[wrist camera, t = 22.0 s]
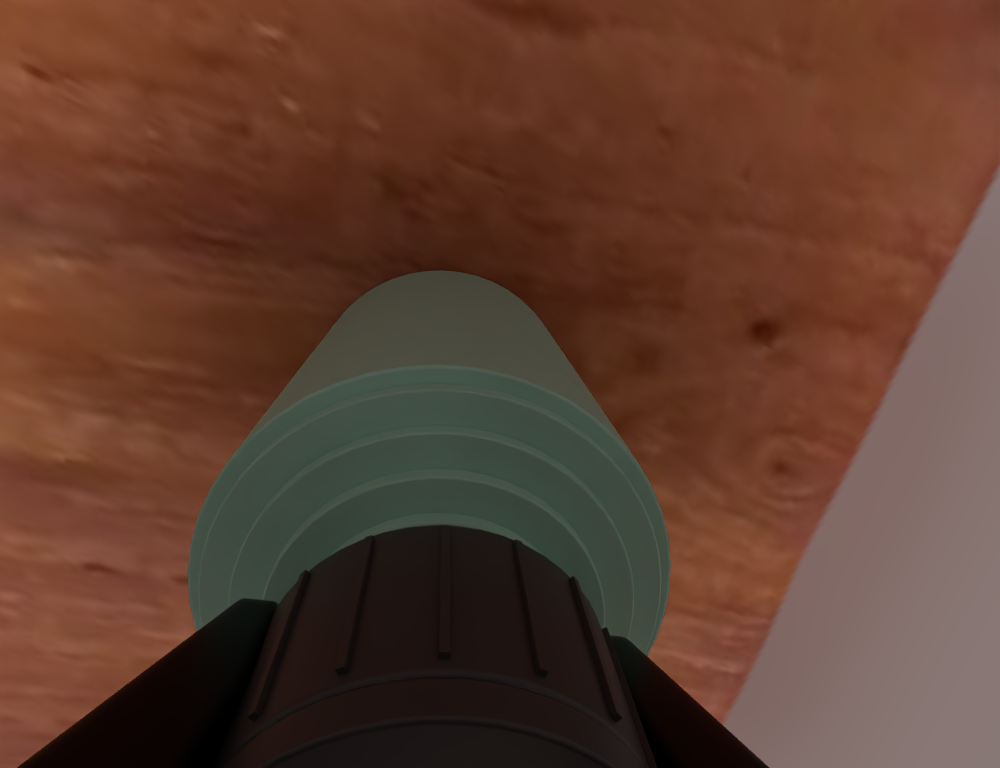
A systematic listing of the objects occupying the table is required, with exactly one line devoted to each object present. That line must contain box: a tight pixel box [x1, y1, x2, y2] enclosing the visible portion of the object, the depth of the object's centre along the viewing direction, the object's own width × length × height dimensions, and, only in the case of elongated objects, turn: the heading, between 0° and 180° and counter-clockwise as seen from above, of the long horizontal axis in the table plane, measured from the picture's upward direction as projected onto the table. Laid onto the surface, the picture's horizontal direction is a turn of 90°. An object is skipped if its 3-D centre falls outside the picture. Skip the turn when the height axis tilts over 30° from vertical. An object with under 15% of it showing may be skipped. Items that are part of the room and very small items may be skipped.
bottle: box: [188, 270, 671, 656], centre depth 11 cm, size 6×6×12 cm
